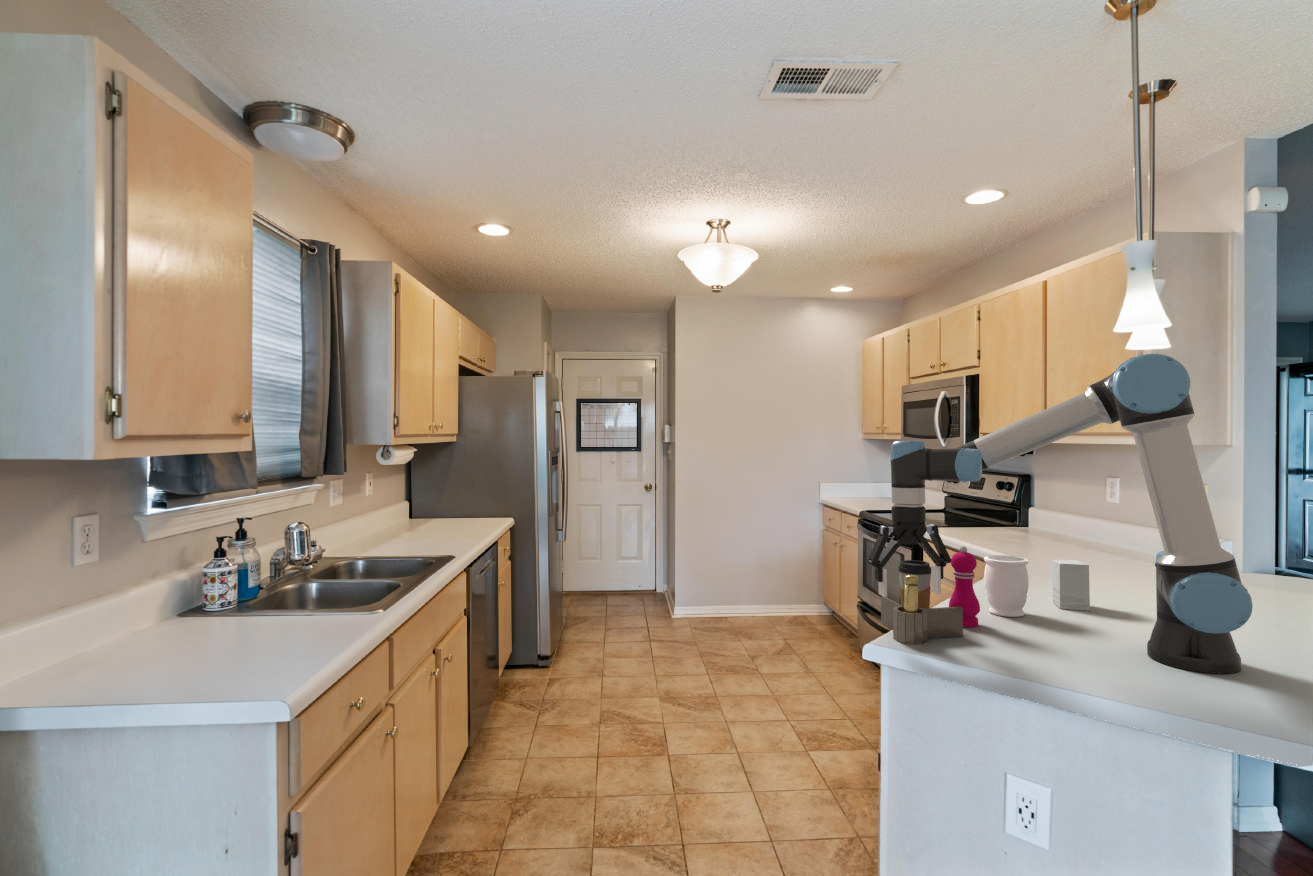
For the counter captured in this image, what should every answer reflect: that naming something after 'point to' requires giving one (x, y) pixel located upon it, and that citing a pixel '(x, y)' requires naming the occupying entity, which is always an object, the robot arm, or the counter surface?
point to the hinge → (921, 622)
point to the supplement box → (1071, 584)
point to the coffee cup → (924, 580)
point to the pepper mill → (965, 587)
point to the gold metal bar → (911, 594)
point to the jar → (1006, 584)
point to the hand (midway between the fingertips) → (909, 594)
